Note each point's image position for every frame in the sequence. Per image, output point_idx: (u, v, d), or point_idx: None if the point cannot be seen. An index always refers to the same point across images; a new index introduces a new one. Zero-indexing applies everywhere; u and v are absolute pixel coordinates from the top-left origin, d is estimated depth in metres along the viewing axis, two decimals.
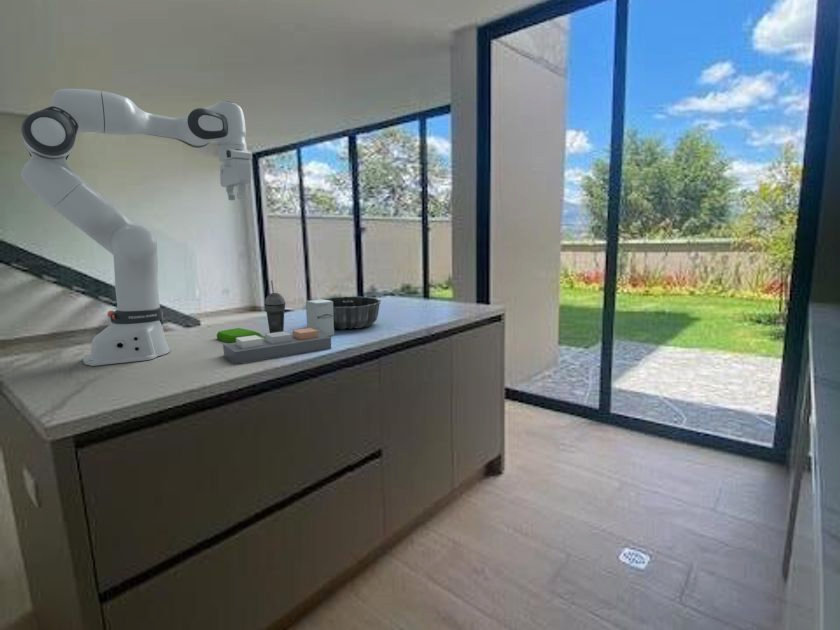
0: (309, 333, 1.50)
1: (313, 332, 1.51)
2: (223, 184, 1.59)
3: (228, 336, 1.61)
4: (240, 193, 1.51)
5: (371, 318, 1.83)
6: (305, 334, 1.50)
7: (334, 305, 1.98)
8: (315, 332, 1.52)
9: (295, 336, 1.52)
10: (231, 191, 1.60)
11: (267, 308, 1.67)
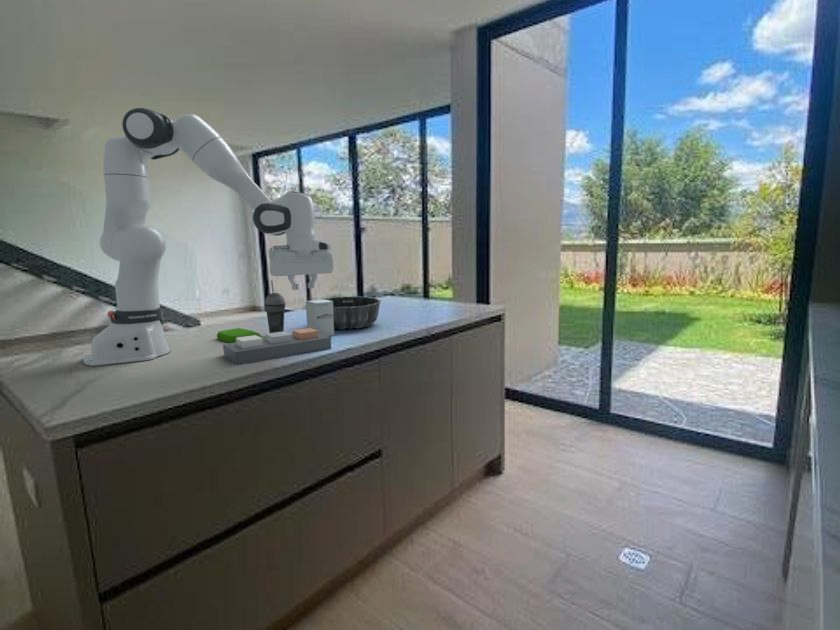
0: (309, 333, 1.50)
1: (313, 332, 1.51)
2: (284, 274, 1.44)
3: (228, 336, 1.61)
4: None
5: (371, 318, 1.83)
6: (305, 334, 1.50)
7: (334, 305, 1.98)
8: (315, 332, 1.52)
9: (295, 336, 1.52)
10: None
11: (267, 308, 1.67)
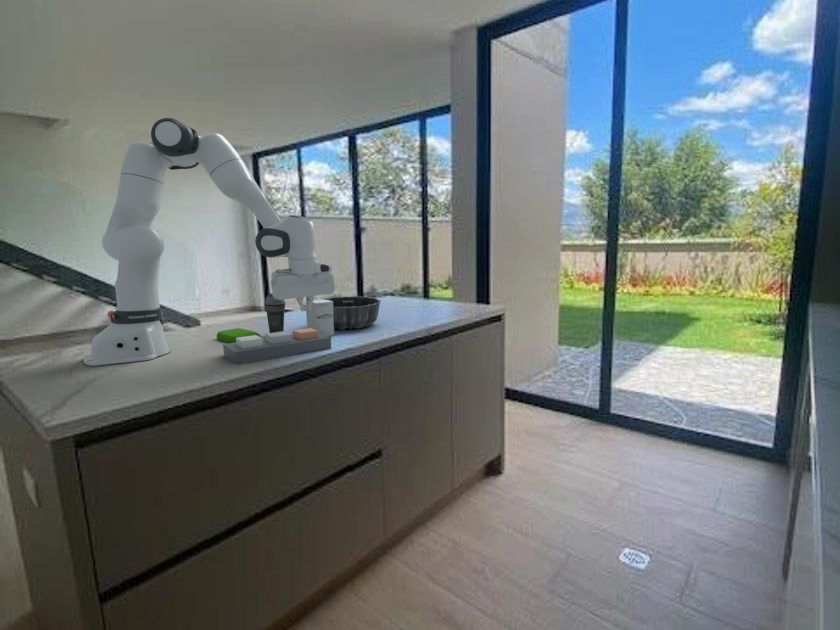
0: (309, 333, 1.50)
1: (313, 332, 1.51)
2: (287, 297, 1.46)
3: (227, 336, 1.61)
4: None
5: (371, 318, 1.83)
6: (305, 334, 1.50)
7: (334, 305, 1.98)
8: (315, 332, 1.52)
9: (295, 336, 1.52)
10: None
11: (267, 308, 1.67)
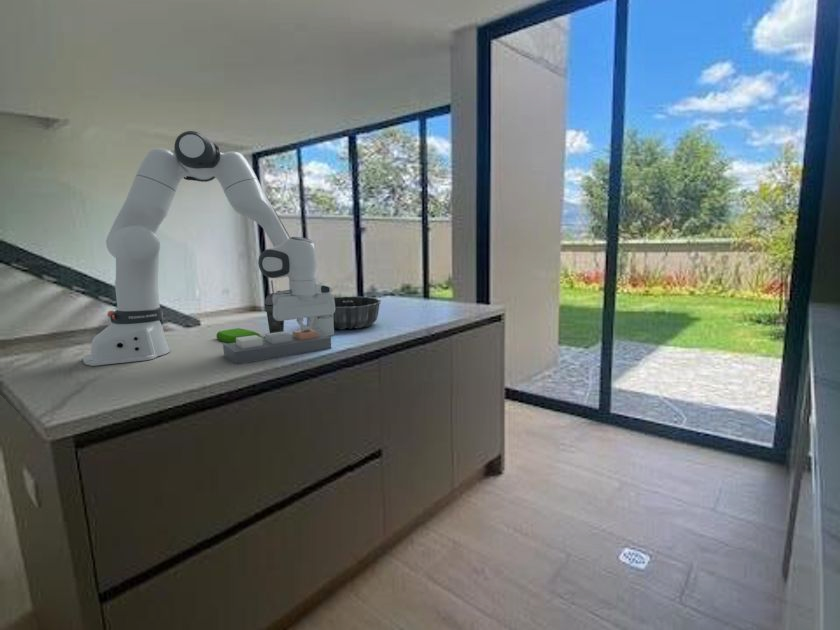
0: (309, 334, 1.51)
1: (313, 333, 1.51)
2: (287, 318, 1.47)
3: (227, 336, 1.60)
4: None
5: (371, 318, 1.83)
6: (305, 335, 1.50)
7: None
8: (315, 333, 1.52)
9: (295, 337, 1.52)
10: None
11: (267, 308, 1.67)
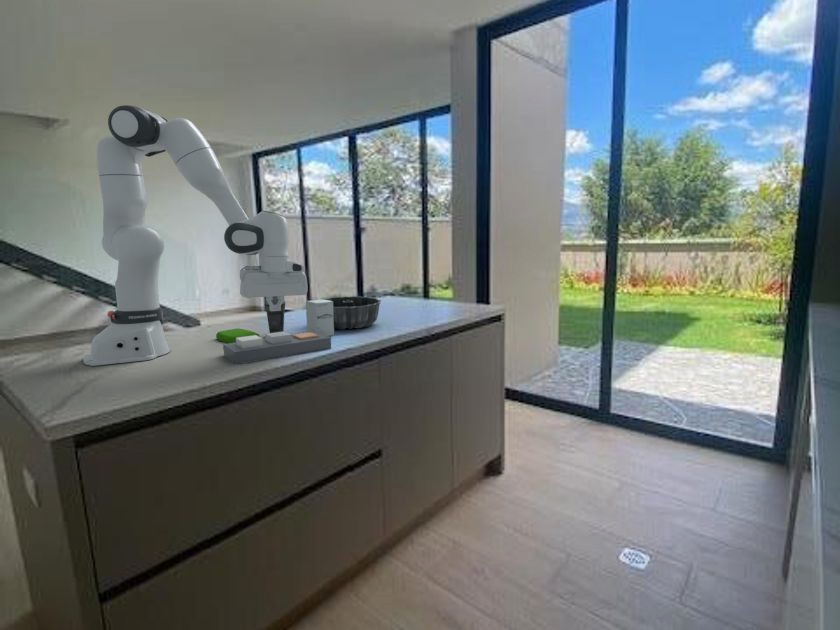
0: (309, 337, 1.51)
1: (313, 336, 1.52)
2: (255, 295, 1.40)
3: (226, 336, 1.60)
4: None
5: (371, 318, 1.83)
6: (305, 338, 1.50)
7: (334, 305, 1.98)
8: (315, 336, 1.52)
9: None
10: None
11: (267, 308, 1.67)
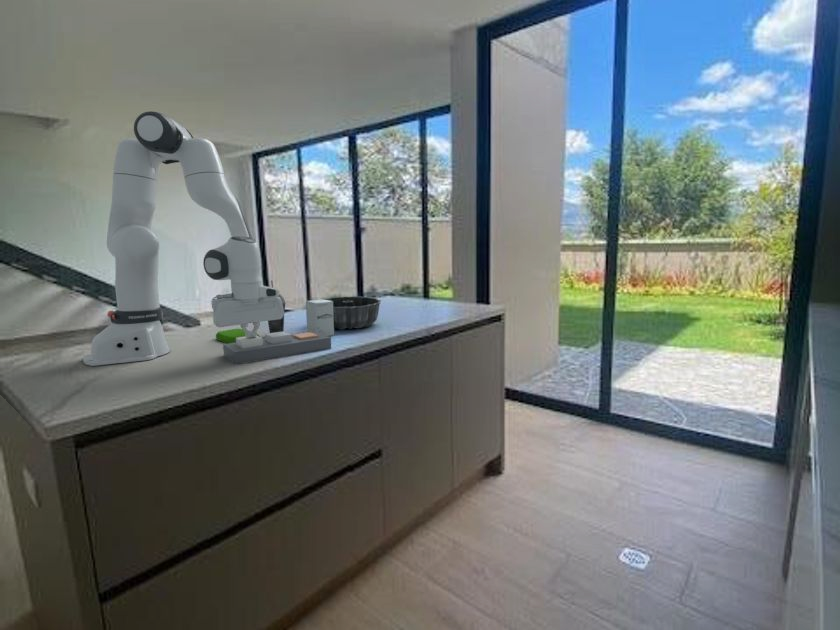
0: (309, 337, 1.51)
1: (313, 336, 1.52)
2: (229, 324, 1.36)
3: (226, 337, 1.60)
4: None
5: (371, 318, 1.83)
6: (305, 338, 1.50)
7: (334, 305, 1.98)
8: (315, 336, 1.52)
9: None
10: None
11: None
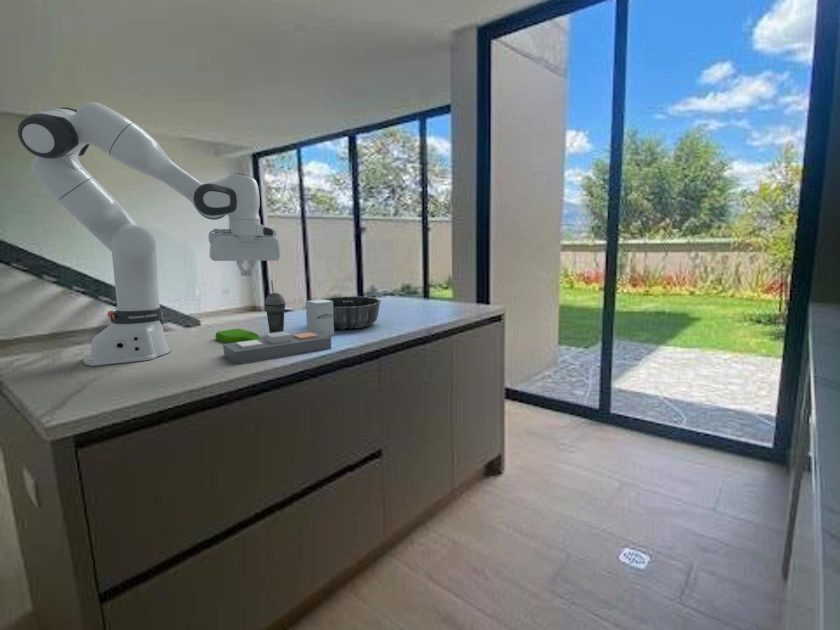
0: (309, 337, 1.51)
1: (313, 336, 1.52)
2: (225, 258, 1.38)
3: (225, 337, 1.60)
4: None
5: (371, 318, 1.83)
6: (305, 338, 1.50)
7: (334, 305, 1.98)
8: (315, 336, 1.52)
9: None
10: None
11: (267, 308, 1.67)
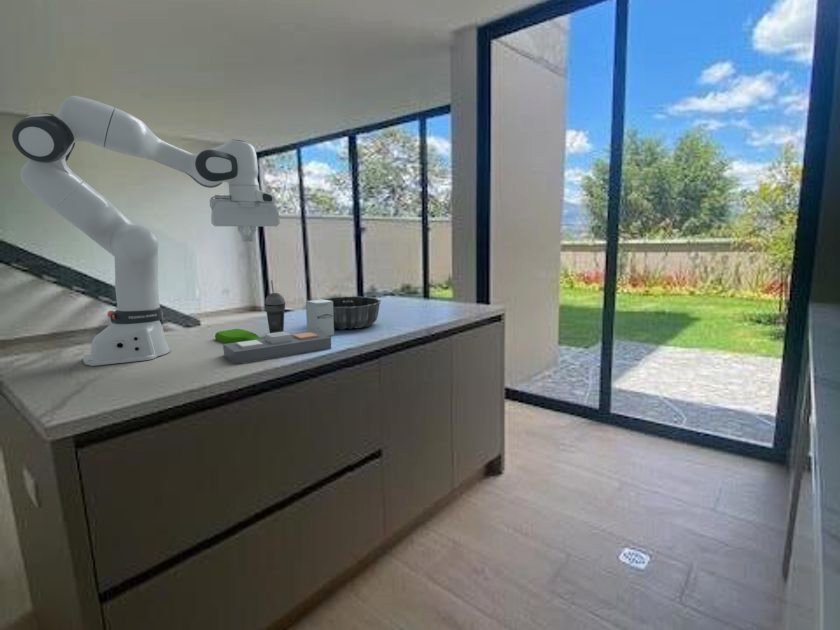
0: (309, 337, 1.51)
1: (313, 336, 1.52)
2: (226, 224, 1.42)
3: (225, 337, 1.60)
4: None
5: (371, 318, 1.83)
6: (305, 338, 1.50)
7: (334, 305, 1.98)
8: (315, 336, 1.52)
9: None
10: None
11: (267, 308, 1.67)
